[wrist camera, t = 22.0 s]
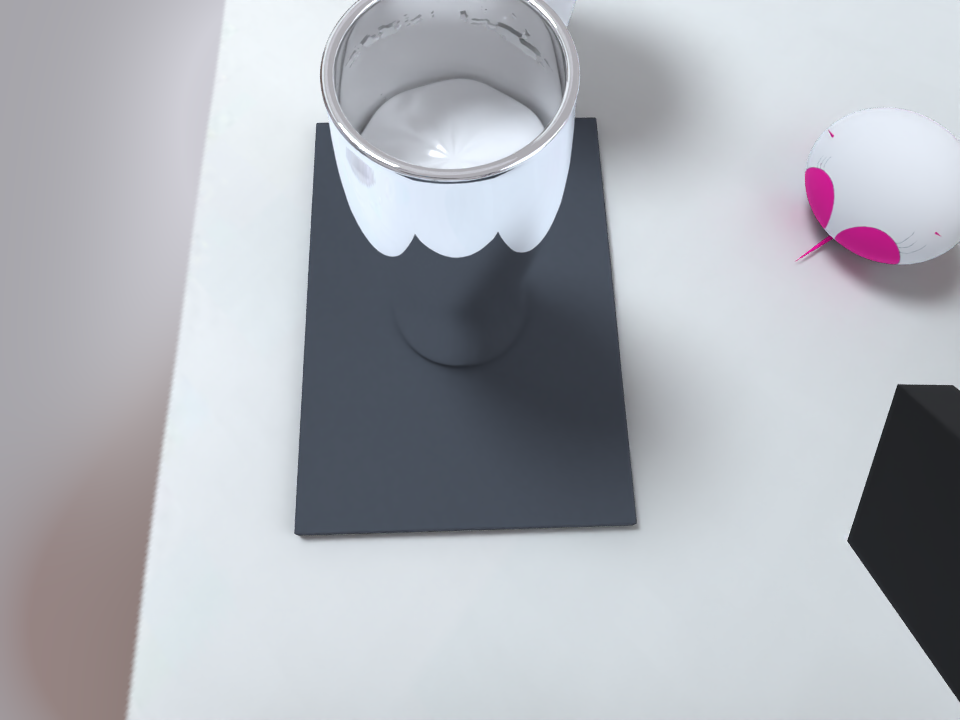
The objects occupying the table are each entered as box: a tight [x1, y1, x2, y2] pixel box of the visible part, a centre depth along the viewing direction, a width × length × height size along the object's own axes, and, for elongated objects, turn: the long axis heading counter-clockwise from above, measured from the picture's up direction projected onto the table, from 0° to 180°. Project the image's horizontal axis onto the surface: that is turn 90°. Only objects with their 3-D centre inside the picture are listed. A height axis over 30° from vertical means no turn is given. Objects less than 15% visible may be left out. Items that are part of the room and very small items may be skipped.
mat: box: [294, 118, 637, 535], centre depth 32 cm, size 20×14×1 cm
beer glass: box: [320, 0, 580, 367], centre depth 25 cm, size 7×7×15 cm
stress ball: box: [796, 107, 960, 265], centre depth 32 cm, size 8×8×7 cm
